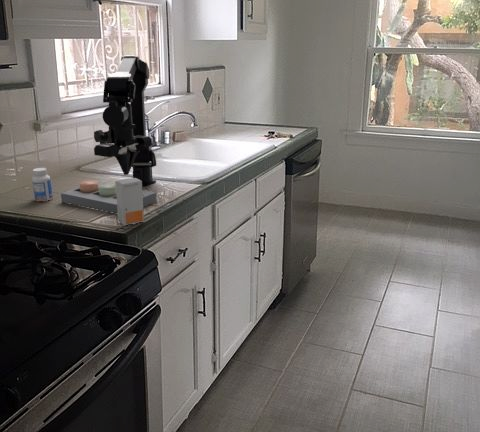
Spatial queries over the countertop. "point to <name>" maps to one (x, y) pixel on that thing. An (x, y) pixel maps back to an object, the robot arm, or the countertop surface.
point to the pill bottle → (41, 185)
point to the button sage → (107, 190)
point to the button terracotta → (89, 186)
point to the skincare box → (129, 201)
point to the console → (100, 199)
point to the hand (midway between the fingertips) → (126, 174)
